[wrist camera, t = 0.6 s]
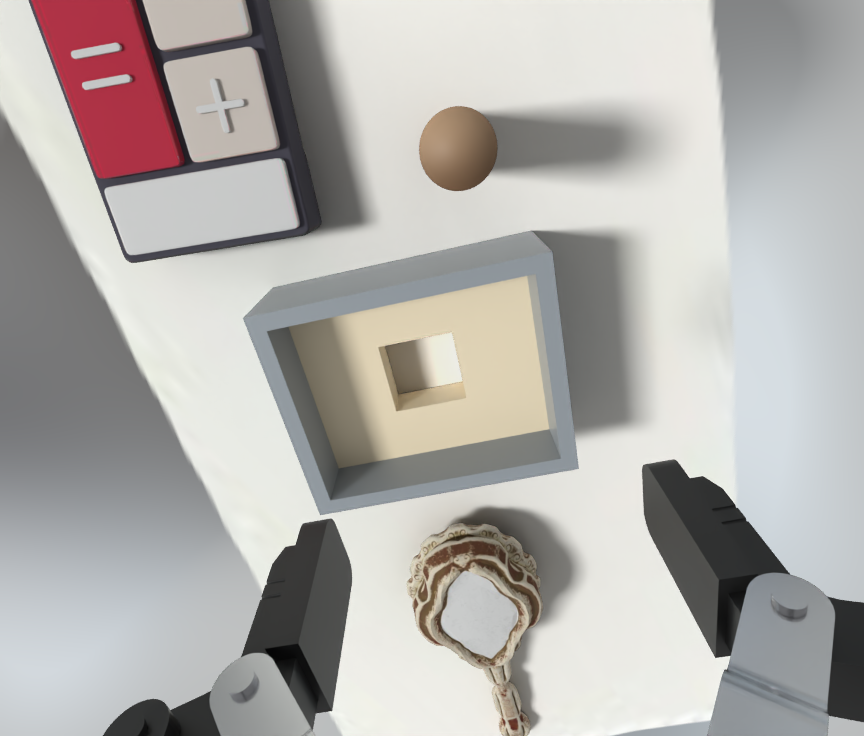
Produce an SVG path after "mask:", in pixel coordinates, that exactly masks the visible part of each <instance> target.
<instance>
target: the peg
mask: <svg viewBox="0 0 864 736" xmlns="http://www.w3.org/2000/svg"><path fill="white" fill-rule="evenodd" d="M419 154H420V160H421V164H422V166H423V169H424V170H425V172H426V174H427V175H428V177H429V178H430V179H431V180H432V181H433V182H434V183H436V184H437V185H438V186H440V187H442V188H444V189H447V190H452V191H463V190H468V189H471V188H473V187H475V186H477V185H478V184H480V183H481V182H482V181H483V180H484V179H485V178H486V177H487V176H488V175H489V173H490V172H491V170H492V168H493V166H494V164H495V161H496V157H497V139H496V135H495V132H494V129H493V127H492V125H491V124H490V123H489V121H488V120H487V119H486V118H485V117H484V116H483V115H482V114H481V113H479V112H478V111H476V110H474V109H472V108H468V107H462V106H456V107H450V108H447V109H444V110H442V111H440V112H439V113H437V114H436V115H435V116H434V117H433V118H432V119H431V120H430V121H429V122H428V123H427V125H426V127H425V128H424V130H423V133H422V136H421V139H420V146H419Z"/></svg>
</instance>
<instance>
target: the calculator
mask: <svg viewBox="0 0 864 736" xmlns="http://www.w3.org/2000/svg"><path fill="white" fill-rule="evenodd" d="M29 3H30V6H31V8H32V11H33V14H34V16H35V19H36V22H37V25H38V27H39V30H40V33H41V35H42V38H43V41H44V43H45V46H46V49H47V51H48V54H49V57H50V59H51V62H52V65H53V67H54V70H55V73H56V75H57V78H58V81H59V83H60V86H61V89H62V92H63V94H64V97H65V100H66V102H67V105H68V108H69V110H70V113H71V116H72V118H73V121H74V124H75V126H76V129H77V132H78V134H79V137H80V140H81V142H82V145H83V148H84V150H85V153H86V156H87V159H88V161H89V164H90V167H91V169H92V172H93V175H94V177H95V180H96V183H97V185H98V188H99V191H100V193H101V196H102V199H103V201H104V204H105V207H106V209H107V212H108V215H109V217H110V220H111V223H112V226H113V228H114V231H115V234H116V236H117V239H118V242H119V244H120V247H121V250H122V252H123V255H124V257H125V259H126V260H127V261H129V262H131V263H137V262H143V261H150V260H156V259H162V258H168V257H174V256H180V255H187V254H193V253H199V252H205V251H211V250H217V249H224V248H230V247H236V246H242V245H248V244H254V243H261V242H267V241H273V240H279V239H285V238H291V237H297V236H303V235H306V234H308V233H310V232H311V231H313V230H315V229H316V228H318V227H319V226H320V225H321V217H320V213H319V209H318V205H317V200H316V196H315V192H314V188H313V184H312V179H311V175H310V171H309V167H308V163H307V159H306V155H305V152H304V150H303V147H302V143H301V138H300V134H299V129H298V125H297V121H296V116H295V112H294V108H293V103H292V99H291V95H290V90H289V86H288V81H287V77H286V73H285V68H284V64H283V60H282V55H281V51H280V47H279V42H278V38H277V34H276V30H275V25H274V21H273V17H272V13H271V8H270V4H269V0H29Z"/></svg>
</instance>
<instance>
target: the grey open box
mask: <svg viewBox="0 0 864 736" xmlns="http://www.w3.org/2000/svg"><path fill="white" fill-rule="evenodd" d="M243 319H244V322H245V324H246V327H247V330H248V332H249V335H250V337H251V340H252V342H253V345H254V347H255V350H256V353H257V355H258V358H259V360H260V363H261V365H262V368H263V370H264V373H265V375H266V378H267V381H268V383H269V386H270V388H271V391H272V393H273V396H274V398H275V401H276V404H277V406H278V409H279V411H280V414H281V416H282V419H283V421H284V424H285V426H286V429H287V432H288V434H289V437H290V439H291V442H292V444H293V447H294V449H295V452H296V455H297V457H298V460H299V462H300V465H301V467H302V470H303V472H304V475H305V478H306V480H307V483H308V485H309V488H310V490H311V493H312V495H313V498H314V500H315V503H316V506H317V508H318V511H319V513H320V515H324V514H329V513H335V512H340V511H346V510H351V509H357V508H363V507H368V506H374V505H379V504H385V503H390V502H396V501H402V500H407V499H413V498H418V497H424V496H429V495H435V494H441V493H446V492H452V491H457V490H463V489H469V488H474V487H480V486H485V485H491V484H496V483H502V482H508V481H513V480H519V479H524V478H530V477H535V476H541V475H547V474H552V473H558V472H563V471H569V470H574V469H579V467H578V459H577V451H576V442H575V434H574V426H573V418H572V410H571V401H570V393H569V385H568V377H567V368H566V360H565V352H564V344H563V335H562V327H561V319H560V311H559V303H558V294H557V286H556V278H555V270H554V261H553V253H552V251H551V250H550V249H549V248H548V247H547V246H546V245H545V244H544V243H543V242H542V241H541V240H540V239H539V238H538V237H537V236H536V235H535V234H534V233H533V232H532V231H528V232H524V233H519V234H515V235H510V236H505V237H501V238H496V239H492V240H487V241H483V242H478V243H474V244H469V245H465V246H460V247H455V248H451V249H446V250H442V251H437V252H433V253H428V254H424V255H419V256H415V257H410V258H405V259H401V260H396V261H392V262H387V263H383V264H378V265H374V266H369V267H365V268H360V269H356V270H351V271H346V272H342V273H337V274H333V275H328V276H324V277H319V278H315V279H310V280H306V281H301V282H296V283H292V284H287V285H283V286H278V287H274V288H272V289H271V290H270V291H269V292H268V293H267V294H266V295H265V296H264V297H263V298H262V299H261V300H260V301H259V302H258V303H257V304H256V306H255V307H254V308H253V309H252V310H251V311H250V312H249V313H248V314H247V315H246V316H245V317H244V318H243ZM450 332H452V334H453V338H454V343H455V348H456V352H457V357H458V362H459V366H460V371H461V375H462V380H463V382H459V383H454V384H449V385H444V386H439V387H434V388H428V389H423V390H418V391H413V392H408V393H403V394H398V391H397V388H396V384H395V381H394V377H393V373H392V370H391V366H390V363H389V359H388V355H387V352H386V348H385V346H387V345H392V344H397V343H402V342H406V341H411V340H416V339H421V338H426V337H431V336H436V335H440V334H445V333H450Z"/></svg>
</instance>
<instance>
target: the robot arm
mask: <svg viewBox="0 0 864 736" xmlns="http://www.w3.org/2000/svg"><path fill="white" fill-rule="evenodd" d="M642 479H643V502H644V515H645V520H646V524H647V527H648V530H649V533H650V535H651V537H652V539H653V541H654V543H655V545H656V547H657V549H658V550H659V552H660V554H661V556H662V558H663V560H664V562H665V564H666V566H667V567H668V569H669V571H670V573H671V575H672V577H673V579H674V581H675V583H676V584H677V586H678V588H679V590H680V592H681V594H682V596H683V598H684V600H685V601H686V603H687V605H688V607H689V609H690V611H691V613H692V615H693V617H694V618H695V620H696V622H697V624H698V626H699V628H700V630H701V632H702V634H703V635H704V637H705V639H706V641H707V643H708V645H709V647H710V649H711V651H712V652H713V654H714V656H715V658H718V657H725V656H731V657H730V661H729V665H728V668H727V670H724V672H723V675H722V678H721V682H720V686H719V690H718V694H717V698H716V702H715V706H714V710H713V714H712V718H711V722H710V726H709V730H708V734H707V736H827V735H828V723H829V722H828V721H829V716H834V717H839V718H844V719H850V720H855V721H860V722H864V603H861V602H852V601H845V600H839V599H835V598H830V597H827V596H826V595H825V594H824V593H823V592H822V591H821V590H820V589H818V588H817V587H816V586H815V585H813V584H811V583H809V582H808V581H806V580H804V579H802V578H799V577H796V576H793V575H790V573H788V571H787V570H786V569H785V567H784V566H783V565H782V564H781V562H780V561H779V560H778V559H777V557H776V556H775V555H774V553H773V552H772V551H771V550H770V548H769V547H768V546H767V545H766V543H765V542H764V541H763V539H762V538H761V537H760V536H759V534H758V533H757V532H756V531H755V529H754V528H753V527H752V525H751V524H750V523H749V522H747V521H746V518H745V517H744V515H743V514H742V513H741V512H740V510H739V509H738V508H736V506H735V504H734V503H733V501H732V500H731V499H730V497H729V496H728V495H727V494H726V492H725V491H724V490H723V489H722V488H721V487H719V486H718V485H716V484H714V483H713V482H711V481H710V480H708V479H706V478H705V477H703V476H701V477H696V478H689V477H688V475H687V474H686V473H685V471H684V470H683V468H682V467H681V466H680V464H679V463H678V462H677V461H676V460H668V461H662V462H656V463H651V464H645V465H643V468H642ZM351 586H352V570H351V564H350V560H349V558H348V555H347V552H346V550H345V547H344V545H343V542H342V540H341V537H340V534H339V532H338V529H337V527H336V524H335V522H334V521H333V520H332V519H326V520H320V521H314V522H309V523H304V524H303V525H302V526H301V529H300V532H299V535H298V539H297V542H296V545H294V546H288V547H285V548H284V550H283V551H282V552H281V554H280V555H279V556H278V557H277V559H276V560H275V561H274V563H273V564H272V567H271V570H270V573H269V576H268V579H267V585H265V588H264V591H263V594H262V600H260V603H259V606H258V609H257V612H256V615H255V618H254V621H253V624H252V627H251V630H250V632H249V635H248V638H247V641H246V644H245V647H244V650H243V654H242V656H241V658H239V659H237V660H235V661H234V662H233V663H231V664H230V665H229V666H228V667H227V668H226V669H225V670H224V671H223V672H222V673H221V674H220V675H219V677H218V678H217V680H216V682H215V683H214V685H213V687H212V690H211V691H210V692H208V693H206V694H204V695H202V696H200V697H198V698H196V699H194V700H191V701H189V702H187V703H185V704H183V705H181V706H179V707H176V708H174V709H172V710H170V709H169V708H168V707H167V706H166V704H165V703H164V702H162V701H161V700H158V699H150V700H145V701H142V702H140V703H137V704H135V705H134V706H132V707H130V708H129V709H127V710H126V711H124V712H123V713H122V714H121V715H120V716H119V717H118V718H117V719H116V720H115V721H114V722H113V723H112V724H111V725H110V726H109V728H108V729H107V730H106V732H105V733H104V735H103V736H315V734H314V733H313V725H314V720H315V714H316V713H321V712H328V711H332V708H333V701H334V695H335V689H336V682H337V676H338V669H339V663H340V657H341V650H342V644H343V637H344V631H345V624H346V618H347V612H348V605H349V599H350V592H351Z"/></svg>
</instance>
